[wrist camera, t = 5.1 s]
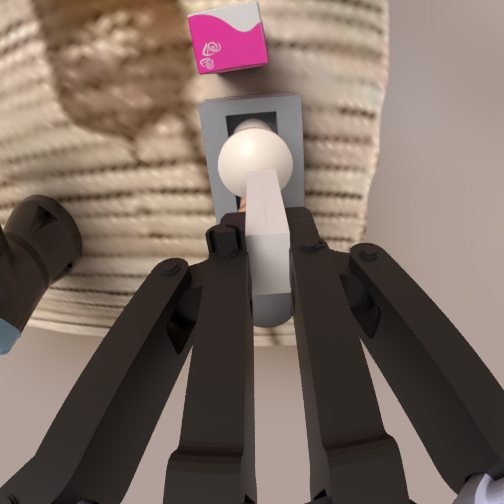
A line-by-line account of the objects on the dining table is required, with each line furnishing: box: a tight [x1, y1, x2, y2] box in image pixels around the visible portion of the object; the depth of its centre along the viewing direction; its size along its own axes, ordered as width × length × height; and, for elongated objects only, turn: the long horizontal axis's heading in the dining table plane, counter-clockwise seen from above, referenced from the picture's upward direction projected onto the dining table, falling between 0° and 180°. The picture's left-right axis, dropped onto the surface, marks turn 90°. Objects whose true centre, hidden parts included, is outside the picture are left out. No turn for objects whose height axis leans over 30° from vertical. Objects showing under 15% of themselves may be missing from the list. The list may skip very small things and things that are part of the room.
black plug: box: [252, 292, 292, 328], centre depth 31 cm, size 5×5×9 cm
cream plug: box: [218, 119, 293, 199], centre depth 23 cm, size 5×5×9 cm
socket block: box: [198, 92, 305, 225], centre depth 34 cm, size 10×22×6 cm, turn 5°
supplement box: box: [188, 2, 269, 74], centre depth 22 cm, size 6×6×12 cm
